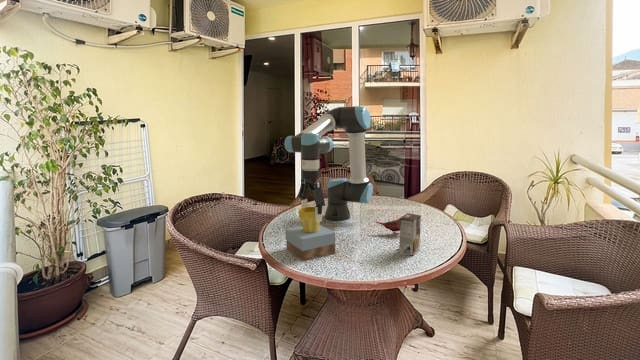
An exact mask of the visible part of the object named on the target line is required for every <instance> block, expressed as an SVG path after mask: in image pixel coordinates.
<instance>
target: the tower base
mask: <svg viewBox="0 0 640 360" xmlns="http://www.w3.org/2000/svg"><path fill="white" fill-rule="evenodd" d="M285 241H286V250H287V251H289V252H290V253H291V254H293V255H294V256H295V257H296V258H298V260H300V261H302V262H304V261H308V260H309V261H310V260H313V259H318V258H323V257H327V256H330V255H335V254H336V243H335V244H331V245H327V246H323V247H318V248H314V249H309V250H305V251H302V250H300V249H299V248H297V247H296V246H294V245H293V244H291V243H290V242H288V241H287V240H286V239H285Z"/></svg>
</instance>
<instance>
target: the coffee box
mask: <svg viewBox="0 0 640 360" xmlns="http://www.w3.org/2000/svg"><path fill="white" fill-rule="evenodd" d="M421 217H422V216H421V215H420V214H415V213H409V212H407V213H405V214H404V215H403V217H402V216H401V217H399V218H400V231H399V233H400V234H399V244H398V245H399V247H398V249H399V250H398V253H399V254H400V253H402V254H401V255H405V254H407V255H406V256H409V255H413V256H415V255H416V254H417V253H418V252H419V251H418V250H419V249H420V248H421V243H420V242H421V222H422V221H421V220H422V219H421ZM417 251H418V252H417ZM416 252H417V253H416ZM415 253H416V254H415Z"/></svg>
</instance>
